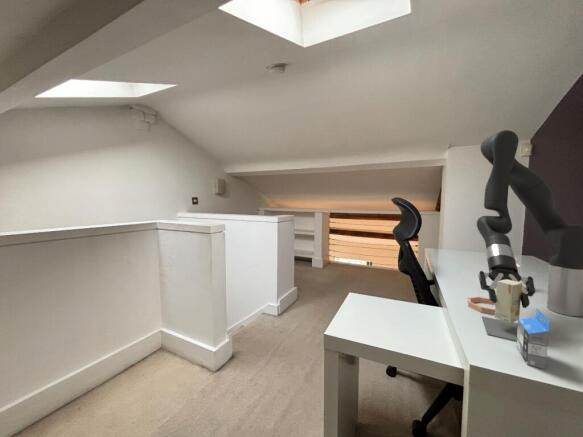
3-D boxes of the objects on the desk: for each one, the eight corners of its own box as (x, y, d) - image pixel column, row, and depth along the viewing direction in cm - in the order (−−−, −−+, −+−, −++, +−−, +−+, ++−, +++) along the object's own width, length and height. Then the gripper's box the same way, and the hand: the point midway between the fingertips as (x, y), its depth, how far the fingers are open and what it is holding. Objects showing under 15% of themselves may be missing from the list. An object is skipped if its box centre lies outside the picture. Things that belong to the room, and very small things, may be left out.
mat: (527, 326, 80) (527, 325, 80) (541, 347, 68) (541, 346, 68) (481, 317, 86) (481, 316, 86) (487, 335, 74) (487, 333, 74)
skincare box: (510, 324, 74) (513, 285, 73) (493, 318, 78) (496, 281, 77) (520, 319, 77) (523, 282, 76) (503, 314, 81) (505, 278, 80)
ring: (506, 306, 96) (506, 301, 96) (513, 318, 85) (514, 313, 85) (466, 299, 103) (466, 294, 103) (469, 310, 92) (469, 305, 92)
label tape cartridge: (515, 347, 68) (517, 304, 68) (534, 351, 66) (536, 307, 66) (526, 365, 61) (528, 317, 60) (547, 370, 59) (550, 321, 58)
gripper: (477, 251, 86) (483, 294, 76) (531, 256, 79) (545, 304, 70) (473, 263, 91) (478, 304, 81) (524, 268, 84) (536, 314, 75)
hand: (509, 304), depth 76 cm, fingers closed on skincare box, 7 cm apart
